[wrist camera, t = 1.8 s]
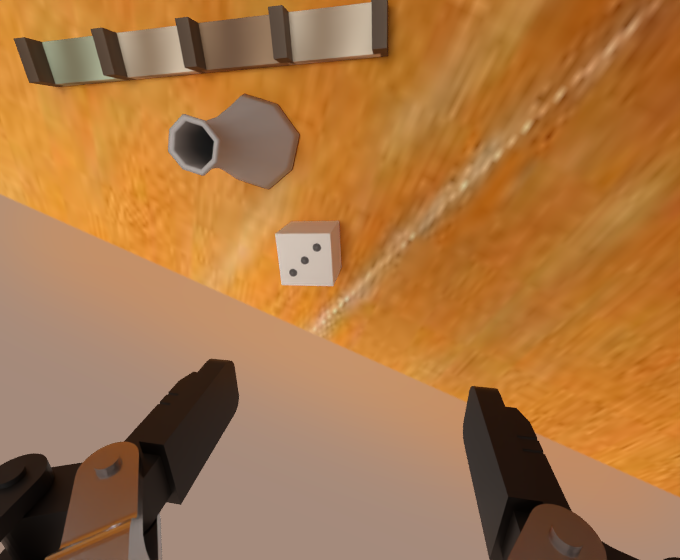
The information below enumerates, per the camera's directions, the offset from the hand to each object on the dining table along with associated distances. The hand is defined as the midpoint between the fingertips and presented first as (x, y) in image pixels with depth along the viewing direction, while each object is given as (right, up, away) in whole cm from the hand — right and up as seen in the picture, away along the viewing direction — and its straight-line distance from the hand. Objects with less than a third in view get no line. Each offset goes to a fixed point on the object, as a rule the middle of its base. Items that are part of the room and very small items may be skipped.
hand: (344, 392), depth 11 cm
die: (-2, +7, +20) cm, 21 cm away
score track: (-11, +22, +15) cm, 29 cm away
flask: (-7, +16, +17) cm, 25 cm away
